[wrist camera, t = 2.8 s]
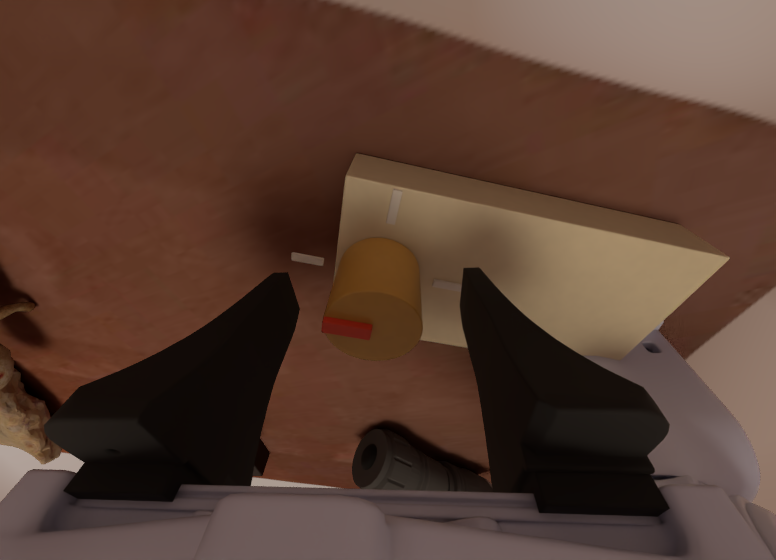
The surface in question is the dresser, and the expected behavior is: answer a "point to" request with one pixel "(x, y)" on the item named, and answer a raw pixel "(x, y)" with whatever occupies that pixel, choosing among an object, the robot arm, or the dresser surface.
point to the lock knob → (375, 301)
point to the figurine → (3, 363)
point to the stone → (25, 421)
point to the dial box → (526, 254)
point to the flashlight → (407, 467)
